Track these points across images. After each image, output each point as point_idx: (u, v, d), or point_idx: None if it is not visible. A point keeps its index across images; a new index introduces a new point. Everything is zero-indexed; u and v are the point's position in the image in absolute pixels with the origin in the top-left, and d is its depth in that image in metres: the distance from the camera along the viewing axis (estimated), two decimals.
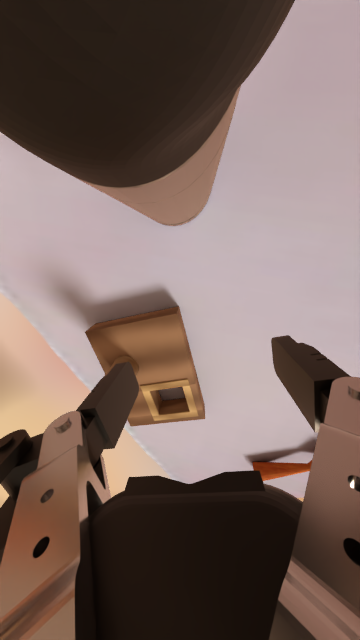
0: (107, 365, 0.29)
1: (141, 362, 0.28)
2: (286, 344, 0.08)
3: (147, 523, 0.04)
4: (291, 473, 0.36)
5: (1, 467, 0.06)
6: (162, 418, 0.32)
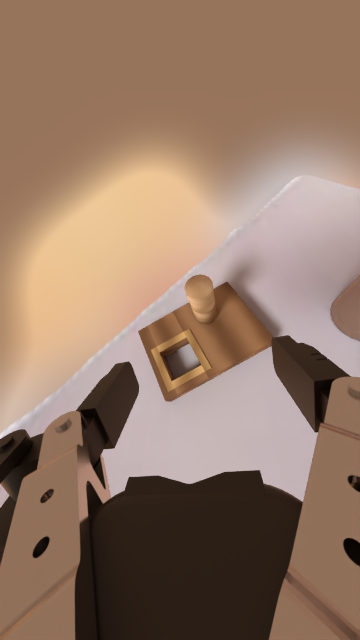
0: None
1: (215, 324, 0.33)
2: (286, 344, 0.08)
3: (147, 523, 0.04)
4: None
5: (1, 467, 0.06)
6: (155, 356, 0.32)
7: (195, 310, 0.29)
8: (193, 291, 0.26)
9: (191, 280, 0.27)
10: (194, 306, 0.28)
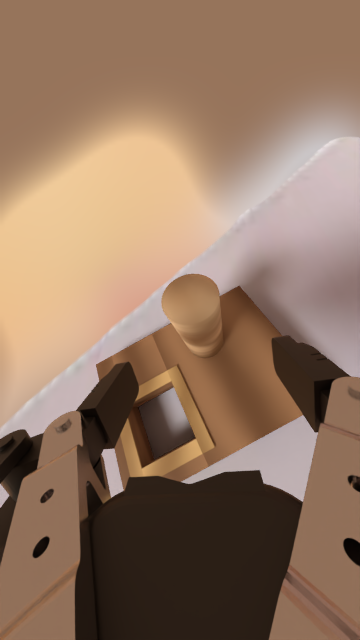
0: None
1: (220, 359, 0.19)
2: (286, 344, 0.08)
3: (147, 523, 0.04)
4: None
5: (1, 467, 0.06)
6: None
7: (185, 340, 0.16)
8: (178, 308, 0.12)
9: (175, 285, 0.13)
10: (182, 335, 0.14)
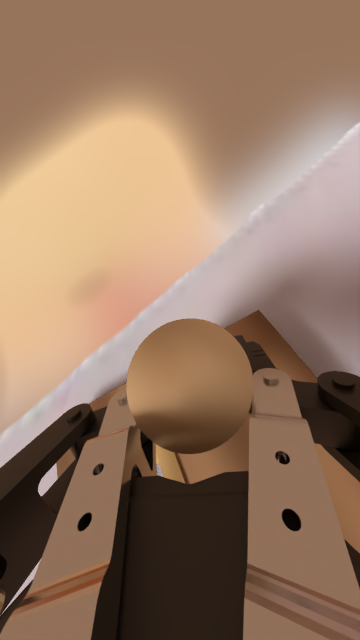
0: None
1: None
2: None
3: (147, 523, 0.04)
4: None
5: (67, 438, 0.06)
6: None
7: None
8: (161, 403, 0.06)
9: (157, 342, 0.06)
10: None
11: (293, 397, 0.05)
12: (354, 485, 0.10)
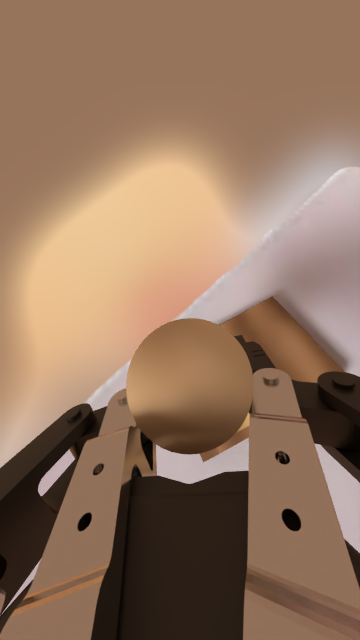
0: (241, 320, 0.28)
1: None
2: None
3: (147, 523, 0.04)
4: None
5: (67, 438, 0.06)
6: None
7: None
8: (161, 403, 0.06)
9: (157, 342, 0.06)
10: None
11: (293, 397, 0.05)
12: (318, 370, 0.23)
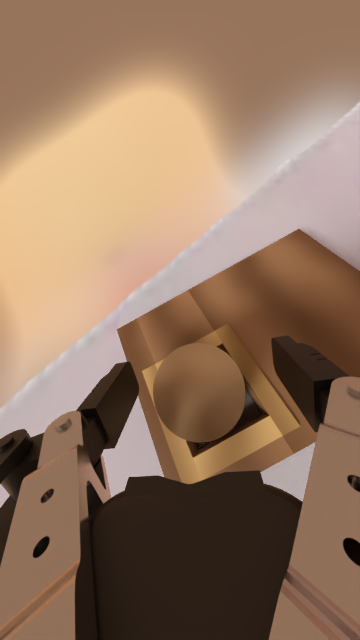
0: (249, 266, 0.17)
1: (288, 313, 0.14)
2: (286, 344, 0.08)
3: (147, 523, 0.04)
4: None
5: (1, 467, 0.06)
6: (152, 387, 0.14)
7: None
8: (180, 407, 0.08)
9: (175, 361, 0.09)
10: None
11: None
12: None
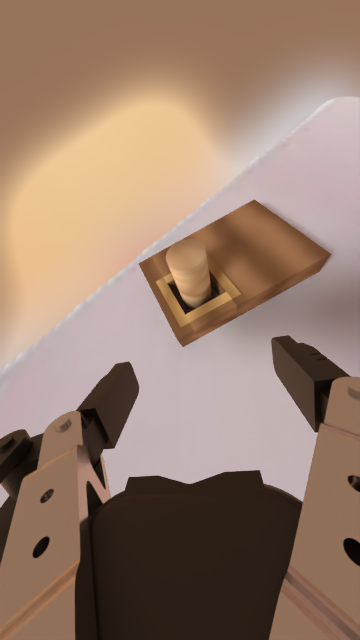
0: (222, 222, 0.27)
1: (242, 245, 0.24)
2: (286, 344, 0.08)
3: (147, 523, 0.04)
4: None
5: (1, 467, 0.06)
6: (162, 288, 0.24)
7: (183, 292, 0.21)
8: (177, 260, 0.18)
9: (175, 246, 0.19)
10: (180, 285, 0.20)
11: None
12: (296, 251, 0.22)
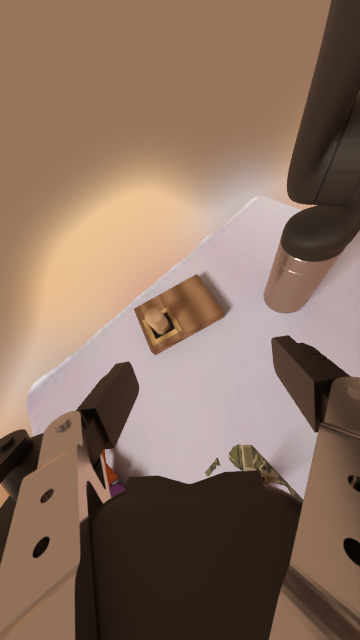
0: (178, 287, 0.50)
1: (186, 302, 0.47)
2: (286, 344, 0.08)
3: (147, 523, 0.04)
4: None
5: (1, 467, 0.06)
6: (145, 324, 0.47)
7: (154, 329, 0.44)
8: (149, 318, 0.41)
9: (149, 311, 0.42)
10: (152, 327, 0.43)
11: None
12: (210, 308, 0.45)
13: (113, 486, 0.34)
